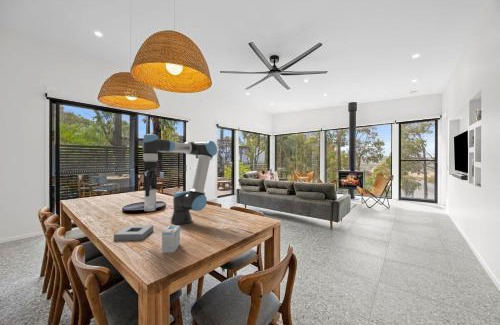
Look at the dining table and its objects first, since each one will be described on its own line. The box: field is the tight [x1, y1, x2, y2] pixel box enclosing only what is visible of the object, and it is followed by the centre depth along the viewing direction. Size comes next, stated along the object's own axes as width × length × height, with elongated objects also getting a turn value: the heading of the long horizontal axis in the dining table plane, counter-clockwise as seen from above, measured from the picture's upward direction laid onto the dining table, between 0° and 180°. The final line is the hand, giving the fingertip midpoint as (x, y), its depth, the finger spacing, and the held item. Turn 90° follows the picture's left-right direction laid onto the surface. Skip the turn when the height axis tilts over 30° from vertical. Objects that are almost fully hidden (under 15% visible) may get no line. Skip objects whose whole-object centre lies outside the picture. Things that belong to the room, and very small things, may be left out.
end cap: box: [144, 187, 157, 212], centre depth 120 cm, size 6×6×12 cm
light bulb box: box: [161, 225, 181, 254], centre depth 111 cm, size 11×7×11 cm, turn 5°
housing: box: [113, 224, 154, 241], centre depth 128 cm, size 16×16×4 cm
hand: (150, 200), depth 120 cm, fingers closed on end cap, 6 cm apart
